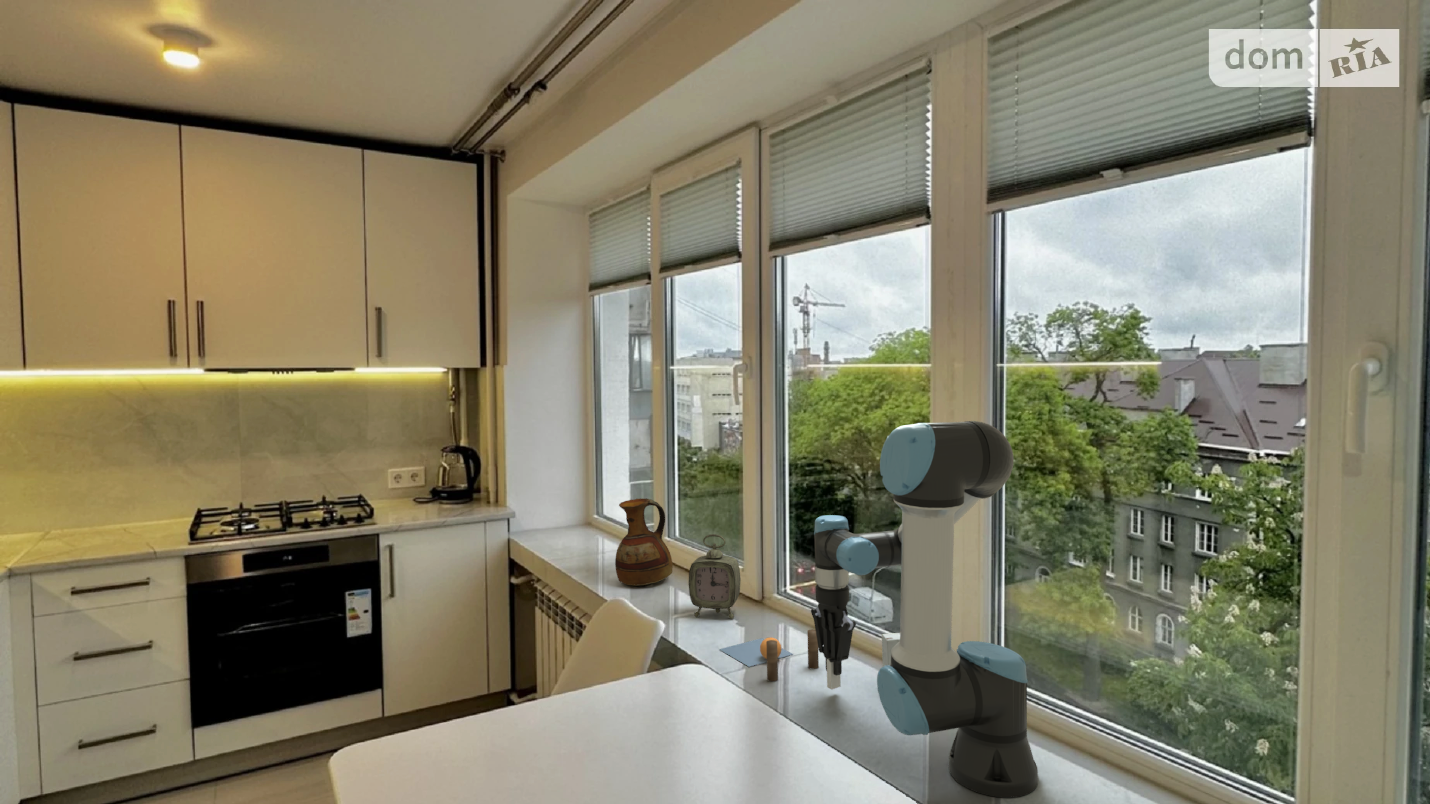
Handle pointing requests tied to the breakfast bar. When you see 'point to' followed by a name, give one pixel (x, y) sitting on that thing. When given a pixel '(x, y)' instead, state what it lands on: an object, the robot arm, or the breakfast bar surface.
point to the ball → (764, 647)
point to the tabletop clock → (714, 580)
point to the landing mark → (750, 652)
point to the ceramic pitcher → (642, 547)
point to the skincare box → (888, 646)
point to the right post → (812, 650)
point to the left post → (772, 660)
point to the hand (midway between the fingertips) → (833, 686)
